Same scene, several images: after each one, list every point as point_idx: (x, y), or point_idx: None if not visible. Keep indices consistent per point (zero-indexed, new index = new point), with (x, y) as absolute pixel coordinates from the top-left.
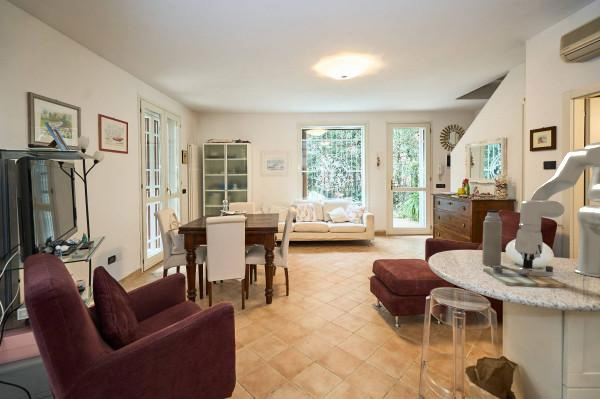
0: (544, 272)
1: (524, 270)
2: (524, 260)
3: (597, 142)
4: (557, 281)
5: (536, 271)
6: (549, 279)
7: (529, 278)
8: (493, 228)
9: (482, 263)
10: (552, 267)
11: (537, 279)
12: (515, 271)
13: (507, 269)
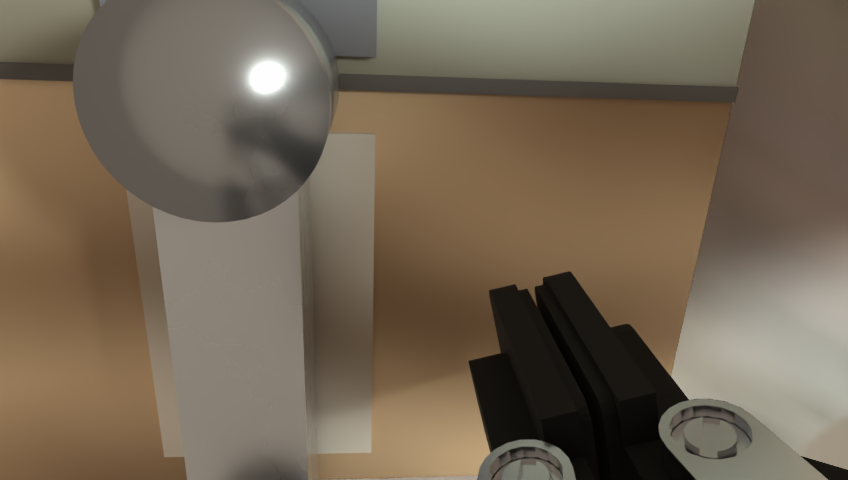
0: (189, 462)
1: (87, 52)
2: (605, 381)
3: None
4: (9, 466)
5: (171, 338)
6: (98, 412)
7: (54, 90)
8: None
9: None
10: None
11: (29, 214)
12: (560, 91)
13: (730, 7)
